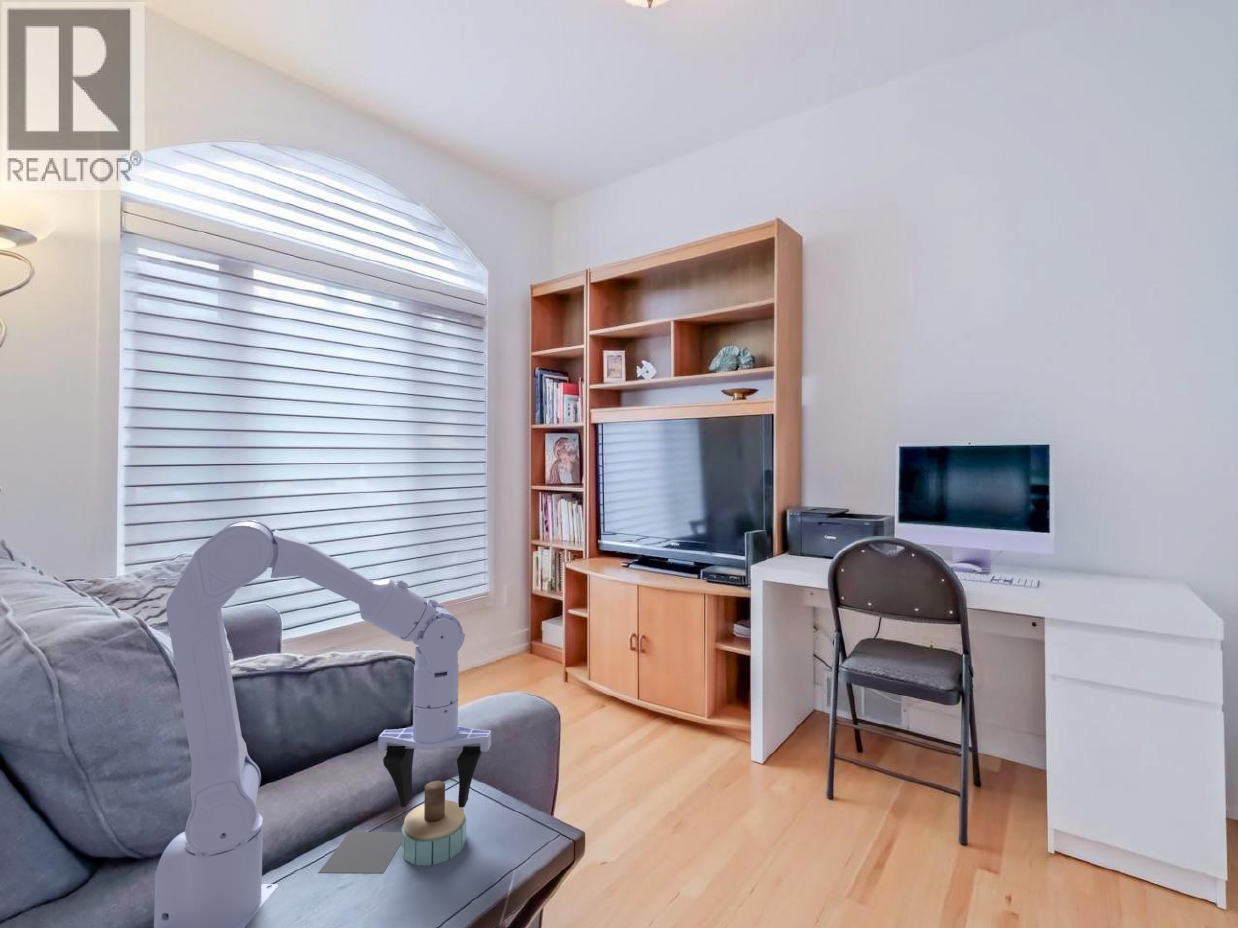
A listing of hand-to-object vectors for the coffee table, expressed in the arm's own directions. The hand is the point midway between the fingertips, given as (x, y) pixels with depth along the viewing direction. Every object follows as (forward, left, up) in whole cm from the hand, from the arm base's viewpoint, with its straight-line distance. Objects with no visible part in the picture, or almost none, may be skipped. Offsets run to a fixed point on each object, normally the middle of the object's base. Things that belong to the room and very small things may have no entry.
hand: (434, 802), depth 75 cm
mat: (-8, -2, -6) cm, 10 cm away
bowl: (0, 0, -6) cm, 6 cm away
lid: (0, 0, -3) cm, 3 cm away
